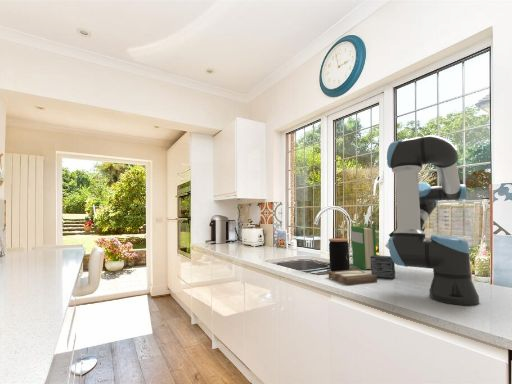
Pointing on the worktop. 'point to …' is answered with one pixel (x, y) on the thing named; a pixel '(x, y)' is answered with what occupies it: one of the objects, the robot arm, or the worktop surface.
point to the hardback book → (363, 246)
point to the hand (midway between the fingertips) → (396, 248)
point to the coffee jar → (339, 254)
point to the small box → (382, 267)
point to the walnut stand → (352, 277)
